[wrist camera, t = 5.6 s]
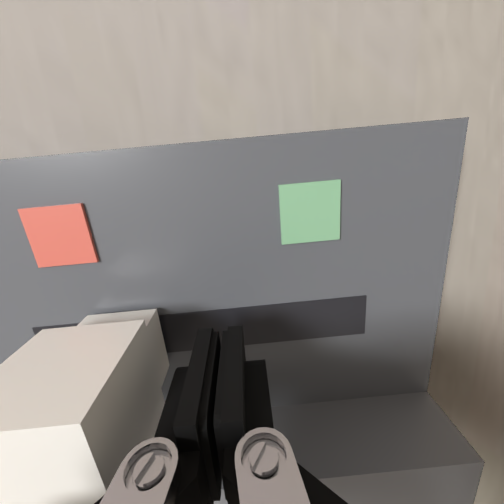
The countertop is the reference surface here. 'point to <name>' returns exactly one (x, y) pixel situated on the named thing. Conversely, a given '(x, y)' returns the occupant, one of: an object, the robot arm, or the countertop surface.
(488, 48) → the countertop surface
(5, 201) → the panel
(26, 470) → the knob
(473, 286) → the countertop surface
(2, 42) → the countertop surface
